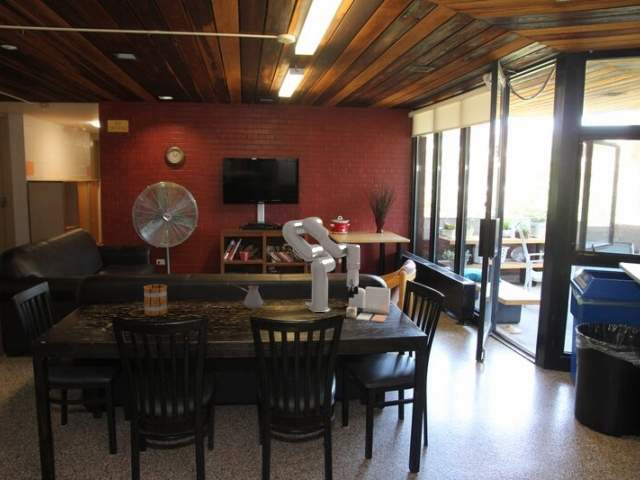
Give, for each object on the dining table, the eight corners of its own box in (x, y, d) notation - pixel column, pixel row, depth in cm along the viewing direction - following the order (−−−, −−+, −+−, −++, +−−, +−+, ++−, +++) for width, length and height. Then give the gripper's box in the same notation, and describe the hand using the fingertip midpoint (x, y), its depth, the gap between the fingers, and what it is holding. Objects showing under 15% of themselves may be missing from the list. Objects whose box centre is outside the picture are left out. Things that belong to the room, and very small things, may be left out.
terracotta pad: (370, 321, 273) (370, 319, 273) (375, 315, 285) (375, 314, 285) (383, 322, 271) (383, 321, 271) (387, 317, 283) (387, 315, 283)
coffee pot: (264, 305, 303) (264, 281, 301) (260, 310, 292) (261, 285, 290) (229, 304, 304) (229, 280, 302) (225, 309, 293) (225, 284, 291)
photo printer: (365, 307, 303) (366, 287, 302) (363, 309, 299) (364, 289, 298) (350, 305, 307) (350, 286, 306) (347, 307, 303) (348, 287, 302)
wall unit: (362, 312, 291) (363, 288, 289) (365, 309, 299) (366, 285, 297) (389, 315, 286) (390, 290, 285) (391, 312, 294) (392, 288, 292)
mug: (162, 316, 275) (161, 289, 273) (139, 314, 276) (138, 288, 274) (176, 307, 294) (176, 282, 292) (154, 306, 296) (154, 281, 294)
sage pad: (355, 319, 276) (355, 318, 276) (360, 314, 287) (360, 312, 287) (368, 320, 274) (368, 319, 274) (372, 315, 285) (372, 314, 285)
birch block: (346, 317, 281) (346, 308, 281) (348, 314, 286) (348, 306, 286) (354, 317, 280) (355, 309, 279) (356, 315, 285) (357, 307, 284)
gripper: (350, 263, 289) (350, 292, 291) (343, 268, 272) (342, 298, 274) (363, 264, 286) (363, 293, 288) (356, 269, 270) (356, 299, 272)
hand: (353, 296), depth 281 cm, fingers open, 9 cm apart
